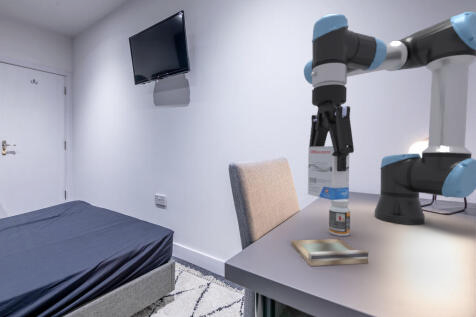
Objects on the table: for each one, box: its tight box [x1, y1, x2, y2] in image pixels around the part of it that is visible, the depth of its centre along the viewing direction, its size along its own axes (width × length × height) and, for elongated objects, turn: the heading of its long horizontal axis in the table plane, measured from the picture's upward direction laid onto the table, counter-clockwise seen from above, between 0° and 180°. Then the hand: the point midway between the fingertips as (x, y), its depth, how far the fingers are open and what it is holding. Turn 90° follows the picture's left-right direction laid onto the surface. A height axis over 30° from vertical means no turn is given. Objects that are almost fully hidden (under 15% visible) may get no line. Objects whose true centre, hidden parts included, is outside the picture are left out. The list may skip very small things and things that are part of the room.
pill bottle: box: [328, 199, 351, 237], centre depth 72 cm, size 6×6×10 cm
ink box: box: [307, 145, 350, 201], centre depth 57 cm, size 8×5×12 cm, turn 24°
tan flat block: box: [290, 238, 369, 267], centre depth 58 cm, size 13×12×2 cm
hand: (327, 183), depth 57 cm, fingers closed on ink box, 9 cm apart
